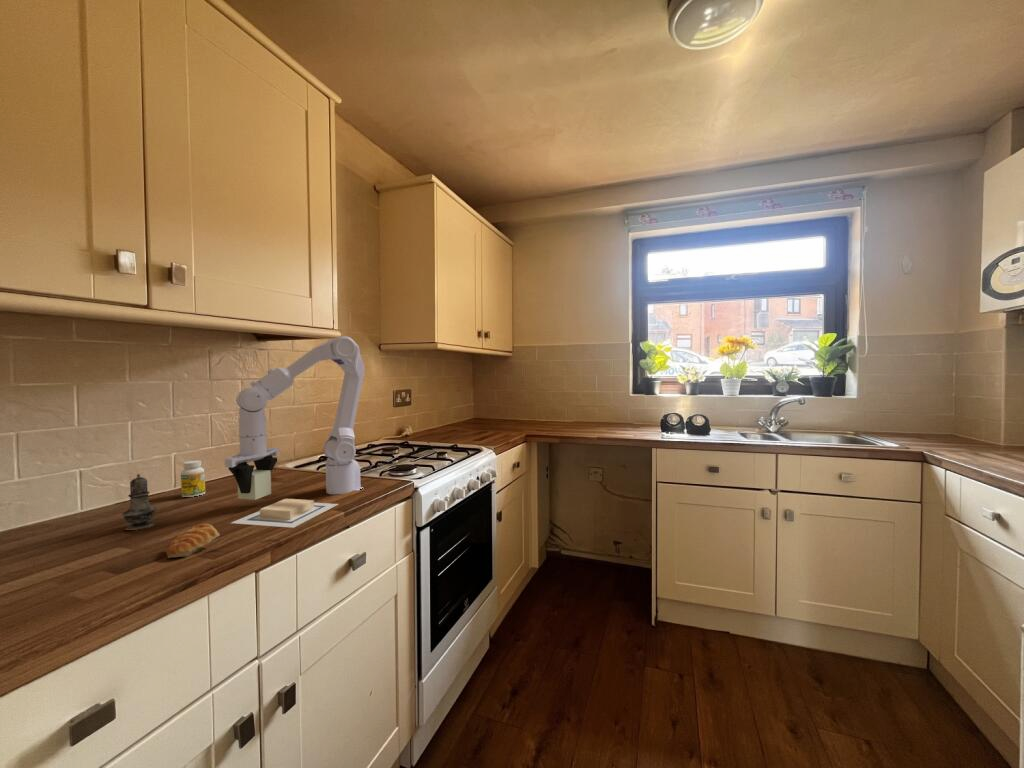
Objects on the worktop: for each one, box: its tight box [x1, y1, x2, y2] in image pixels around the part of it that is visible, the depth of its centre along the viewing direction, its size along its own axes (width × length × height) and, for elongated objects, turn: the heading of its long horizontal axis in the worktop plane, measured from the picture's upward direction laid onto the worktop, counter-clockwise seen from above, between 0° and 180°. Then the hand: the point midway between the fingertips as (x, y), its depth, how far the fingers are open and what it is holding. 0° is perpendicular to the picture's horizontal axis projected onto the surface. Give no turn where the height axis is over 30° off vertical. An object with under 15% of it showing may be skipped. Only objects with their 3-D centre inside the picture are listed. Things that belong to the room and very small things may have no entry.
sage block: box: [236, 469, 272, 501], centre depth 103 cm, size 5×5×6 cm
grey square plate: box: [230, 502, 339, 529], centre depth 98 cm, size 16×16×1 cm
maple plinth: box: [259, 498, 315, 520], centre depth 98 cm, size 8×8×2 cm
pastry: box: [165, 523, 221, 559], centre depth 80 cm, size 9×7×4 cm
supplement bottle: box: [180, 460, 206, 498], centre depth 117 cm, size 5×5×10 cm
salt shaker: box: [121, 473, 158, 530], centre depth 93 cm, size 6×6×12 cm
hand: (254, 489), depth 103 cm, fingers closed on sage block, 5 cm apart
